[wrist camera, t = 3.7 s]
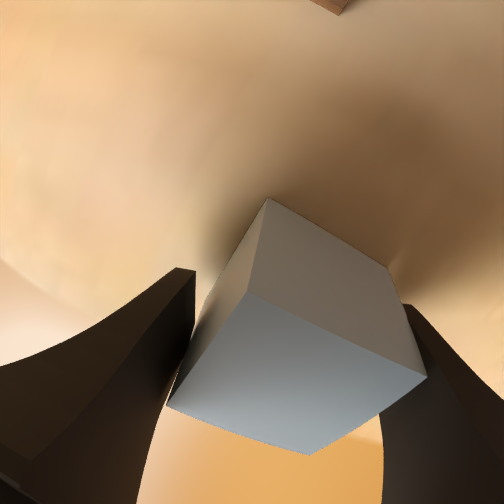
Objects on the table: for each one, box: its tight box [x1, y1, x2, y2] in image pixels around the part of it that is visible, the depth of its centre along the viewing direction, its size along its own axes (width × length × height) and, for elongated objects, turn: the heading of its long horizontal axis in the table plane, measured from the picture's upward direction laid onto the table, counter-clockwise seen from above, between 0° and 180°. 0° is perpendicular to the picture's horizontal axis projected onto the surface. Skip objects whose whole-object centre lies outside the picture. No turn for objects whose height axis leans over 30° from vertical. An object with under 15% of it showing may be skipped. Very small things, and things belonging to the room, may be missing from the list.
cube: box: [166, 197, 428, 455], centre depth 9 cm, size 4×4×4 cm
